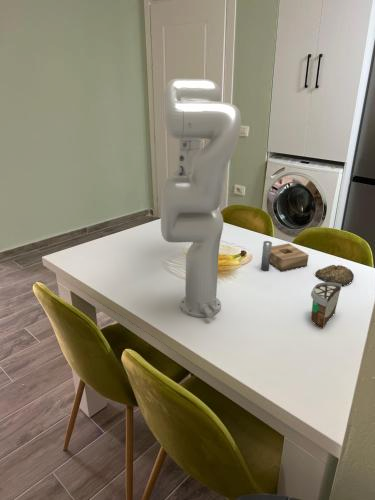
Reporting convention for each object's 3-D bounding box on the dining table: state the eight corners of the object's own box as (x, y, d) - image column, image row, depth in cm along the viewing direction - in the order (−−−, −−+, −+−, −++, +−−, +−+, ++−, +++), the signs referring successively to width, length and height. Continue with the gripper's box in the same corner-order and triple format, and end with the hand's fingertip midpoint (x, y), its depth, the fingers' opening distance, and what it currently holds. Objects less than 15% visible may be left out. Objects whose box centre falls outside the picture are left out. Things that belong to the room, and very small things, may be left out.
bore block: (306, 266, 143) (308, 254, 141) (281, 271, 138) (282, 259, 136) (287, 254, 153) (288, 243, 151) (262, 259, 148) (263, 247, 146)
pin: (270, 270, 139) (273, 243, 135) (263, 271, 138) (266, 244, 134) (265, 267, 142) (268, 240, 137) (259, 268, 141) (261, 241, 136)
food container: (316, 305, 117) (321, 277, 113) (336, 312, 114) (342, 283, 110) (300, 322, 108) (305, 292, 104) (320, 330, 105) (326, 300, 101)
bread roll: (341, 289, 127) (344, 277, 125) (310, 276, 136) (312, 264, 134) (360, 279, 135) (363, 266, 133) (329, 267, 143) (331, 255, 141)
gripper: (184, 149, 123) (184, 199, 130) (211, 143, 136) (209, 189, 143) (166, 147, 127) (166, 196, 134) (194, 142, 140) (193, 186, 147)
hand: (189, 192), depth 138 cm, fingers open, 9 cm apart
